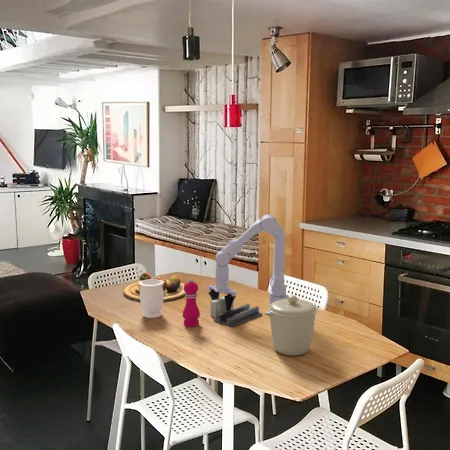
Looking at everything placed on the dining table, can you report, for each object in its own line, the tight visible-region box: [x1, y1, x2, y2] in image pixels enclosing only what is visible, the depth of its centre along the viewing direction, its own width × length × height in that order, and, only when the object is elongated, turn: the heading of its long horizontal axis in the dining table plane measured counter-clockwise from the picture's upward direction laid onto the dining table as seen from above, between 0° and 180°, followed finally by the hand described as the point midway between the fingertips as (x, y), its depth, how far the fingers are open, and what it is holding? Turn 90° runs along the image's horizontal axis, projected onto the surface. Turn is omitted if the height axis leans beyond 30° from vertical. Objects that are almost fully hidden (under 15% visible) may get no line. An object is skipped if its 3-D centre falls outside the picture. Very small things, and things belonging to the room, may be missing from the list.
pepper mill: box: [182, 277, 201, 328], centre depth 232 cm, size 7×7×20 cm
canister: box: [267, 294, 319, 357], centre depth 205 cm, size 18×18×21 cm
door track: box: [214, 303, 263, 328], centre depth 241 cm, size 20×10×3 cm, turn 139°
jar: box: [140, 278, 164, 319], centre depth 244 cm, size 11×10×15 cm
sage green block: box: [210, 295, 235, 319], centre depth 247 cm, size 12×4×7 cm, turn 139°
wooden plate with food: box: [123, 271, 186, 303], centre depth 278 cm, size 32×32×8 cm
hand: (222, 308), depth 247 cm, fingers open, 7 cm apart
